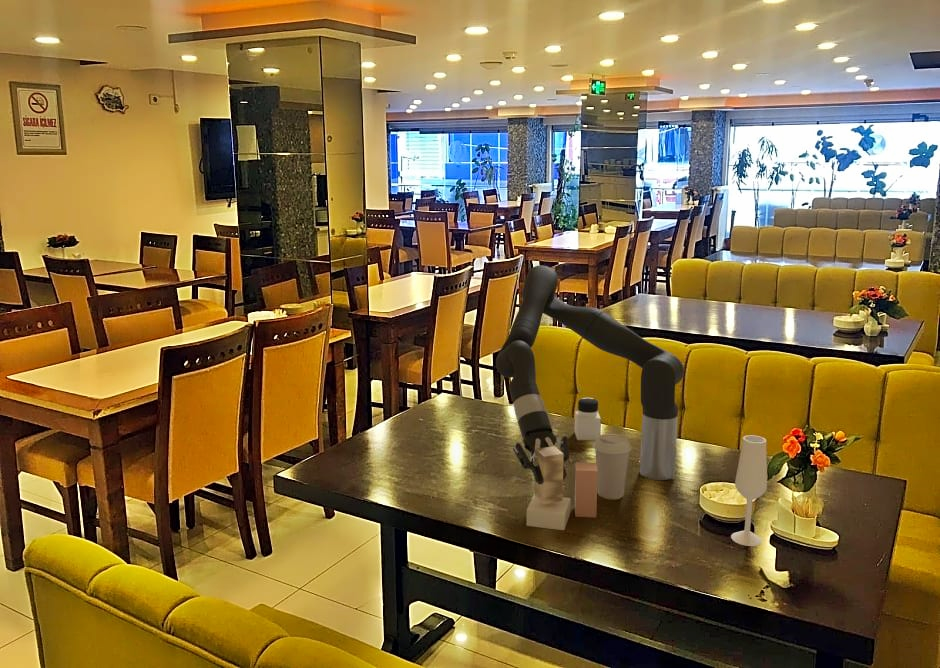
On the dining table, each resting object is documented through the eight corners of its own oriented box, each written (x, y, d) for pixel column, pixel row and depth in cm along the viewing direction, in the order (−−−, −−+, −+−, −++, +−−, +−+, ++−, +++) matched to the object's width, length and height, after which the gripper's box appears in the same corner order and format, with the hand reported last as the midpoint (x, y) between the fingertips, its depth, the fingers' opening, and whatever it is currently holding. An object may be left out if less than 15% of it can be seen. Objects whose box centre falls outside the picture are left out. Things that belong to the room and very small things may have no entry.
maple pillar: (553, 492, 186) (554, 446, 183) (562, 501, 181) (563, 453, 178) (534, 495, 184) (535, 448, 181) (543, 504, 180) (544, 456, 177)
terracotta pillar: (594, 508, 189) (596, 462, 187) (596, 517, 185) (597, 471, 182) (574, 507, 190) (575, 462, 187) (575, 516, 185) (576, 470, 182)
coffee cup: (584, 490, 200) (586, 435, 196) (615, 483, 203) (617, 430, 200) (605, 504, 191) (607, 448, 188) (637, 498, 195) (639, 442, 191)
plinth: (570, 513, 187) (570, 498, 186) (564, 530, 178) (564, 514, 177) (533, 509, 189) (533, 494, 188) (526, 525, 181) (526, 510, 180)
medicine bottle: (600, 440, 234) (601, 403, 231) (577, 440, 234) (578, 403, 231) (597, 432, 241) (598, 395, 238) (574, 432, 241) (575, 395, 238)
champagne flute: (745, 548, 169) (754, 446, 164) (724, 535, 175) (731, 436, 170) (768, 542, 172) (777, 441, 167) (747, 529, 178) (755, 431, 173)
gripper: (553, 420, 193) (574, 483, 185) (500, 426, 189) (519, 491, 180) (563, 406, 187) (585, 471, 179) (509, 413, 183) (528, 479, 174)
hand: (552, 481), depth 180 cm, fingers closed on maple pillar, 5 cm apart
